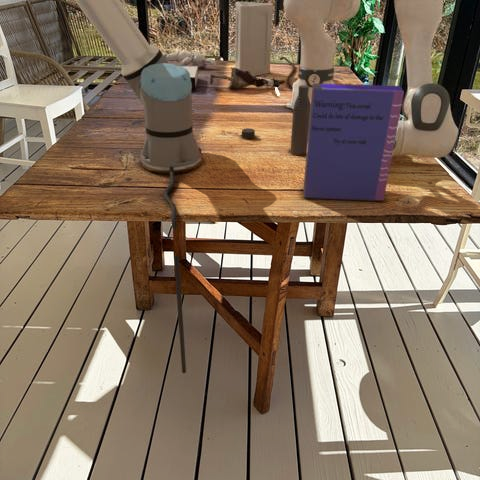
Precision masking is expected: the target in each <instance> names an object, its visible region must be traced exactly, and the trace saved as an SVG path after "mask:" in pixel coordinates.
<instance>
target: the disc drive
mask: <svg viewBox="0 0 480 480" xmlns="http://www.w3.org/2000/svg"><path fill="white" fill-rule="evenodd" d="M182 67H184V68H185V69H187V70H188V72H189V74H190V78H191V83H192V89H191V92H192V91H195V92H196V90H197V88H196V87H197V83H198V79H199V67H198V66H190V65H184V66H182Z"/></svg>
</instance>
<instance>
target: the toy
mask: <svg viewBox="0 0 480 480" xmlns="http://www.w3.org/2000/svg"><path fill="white" fill-rule="evenodd" d="M161 52H162V54H163V55H164V57H165V58H166V60H167V61H168V62H178V64H179V66H189V65H190V64H192V66H198V68H200V65H204V64H205V63H210V64H211V65H212V66H214V67H217V64H218V63H217V62H216V60H214V59H212V58H210V57H209V58H206V56H205V55H204V54H202V53H200V51H198V50H197V51H195V52H190V51H187V50H181V51H178V50H176V51H174V52H170V53H168V52H166V51H161Z"/></svg>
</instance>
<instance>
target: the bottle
mask: <svg viewBox="0 0 480 480" xmlns="http://www.w3.org/2000/svg"><path fill="white" fill-rule="evenodd" d="M298 89H299V92H298V96H297V99H296V101H295V103H294V107H293V109H292V123H291V135H290V136H291V137H290V139H291V140H290V149H289V150H290V151H289V152H290V154H292V155H295V156H304V155H305V156H306V153H307V142H308V131H309V120H310V109H311V104H310V99H309V97H308V92H309V86H307V85H300V86H299V88H298Z"/></svg>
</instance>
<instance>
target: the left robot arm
mask: <svg viewBox="0 0 480 480" xmlns="http://www.w3.org/2000/svg"><path fill="white" fill-rule="evenodd" d="M74 2H75V3H76V4H77V6H78V7H79V8H80V9H81V11H82V13H83V14H84V15H85V17H86V18H87V19H88V21H89V22H90V24H92V26H93V27H94V29H95V30H96V31H97V33H98V34H99V36H100V37H101V39H102V40H103V41H104V43H105V44H106V45H107V46H108V48H109V49H110V50H111V52H112V53H113V55H114V56H115V58H116V59H117V61H119V63H120V64H121V71H120V75H121V76H122V77H123V78H124V80H125V81H126V83H127V84H128V86H129V87H130V88H131V90H132V91H133V92H134V94H135V95H136V96H137V98H138V99H139V100H140V102H141V104H142V106H143V115H144V125H145V126H144V127H145V138H144V142H143V146H142V150H141V154H140V162H141V166H142V168H144V169H145V170H146V171H149V172H151V173H156V174H163V175H164V174H165V175H169V179H170V183H169V185H168V186H167V187H166V188H165V189H164V191H163V198H164V200H165V202H166V203H167V204H168V206H169V208H170V213H171V227H172V228H173V229H177V228H178V221H177V209H176V206H175V203H174V202H173V200H172V199H171V197H169V193H170V191H172V190H173V188H174V186H175V183H176V182H175V181H176V180H175V174H182V173H187V172H190V171H193V170H195V169H197V168H198V167H199V166H201V163H202V149H201V148H200V147H199V146H198V143H197V141H196V137H195V135H194V130H193V129H194V126H193V101H192V100H193V99H192V98H193V97H192V91H191V89H192V83H191V78H190V74H189V72H188V70H187V69H185V68H184V67H182V66H180V65H177V64H175V63H169V61H167V60H166V58H165V57H164V55H163V54H162V52H163V51H162V50H161V49H160V48H159V46H156V45H152V44H149V42H148V41H147V39H146V38H145V36H144V35H143V32H141V30H140V29H139V28H138V26H137V25H136V23H135V21H134V20H133V18H132V17H131V15H130V14H129V12H128V11H127V10H126V8H125V6H124V5H123V4H122V2H121V0H74ZM218 8H219V10H220V11H222V24H223V25H224V26H227V25H228V0H218ZM280 11H284V0H274V15H273V19H274V20H273V24H274V25H275V26H279V25H280ZM173 259H174V274H175V275H174V276H175V288H176V290H175V291H176V304H177V318H178V329H179V330H178V333H179V345H180V362H181V373H183V374H186V373H187V363H186V349H185V348H186V347H185V333H184V332H185V331H184V317H183V316H184V315H183V314H184V313H183V302H182V301H183V299H182V298H183V297H182V285H181V268H180V256H178V255H174V256H173Z"/></svg>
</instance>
